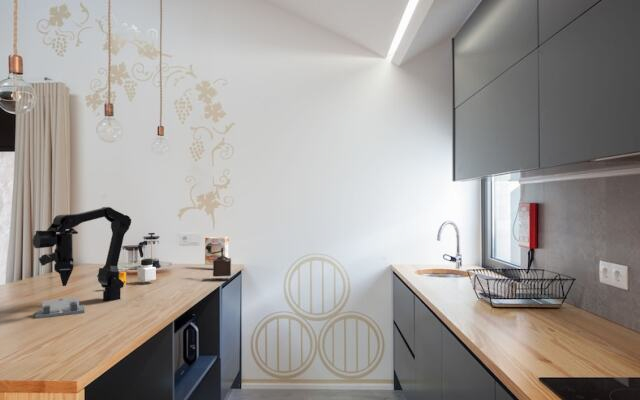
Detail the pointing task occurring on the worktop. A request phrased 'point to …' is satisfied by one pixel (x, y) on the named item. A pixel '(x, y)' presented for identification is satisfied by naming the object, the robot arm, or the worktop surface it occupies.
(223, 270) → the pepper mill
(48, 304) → the shiny metal block
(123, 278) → the pipe clamp
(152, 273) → the medicine bottle
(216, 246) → the coffeecake box
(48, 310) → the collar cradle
